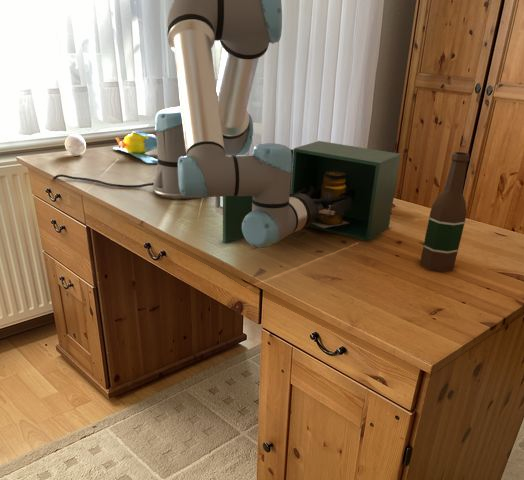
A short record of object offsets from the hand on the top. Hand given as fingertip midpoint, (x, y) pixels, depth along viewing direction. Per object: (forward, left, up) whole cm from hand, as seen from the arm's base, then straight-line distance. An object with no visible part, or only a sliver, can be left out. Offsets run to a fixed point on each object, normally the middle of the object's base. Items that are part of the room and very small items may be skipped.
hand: (340, 192), depth 136 cm
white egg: (-84, +70, -9) cm, 110 cm away
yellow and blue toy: (-63, +74, -9) cm, 98 cm away
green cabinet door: (-23, -5, -9) cm, 25 cm away
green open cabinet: (+1, +1, -9) cm, 9 cm away
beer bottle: (+19, -25, -9) cm, 33 cm away
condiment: (-3, -4, -7) cm, 8 cm away
